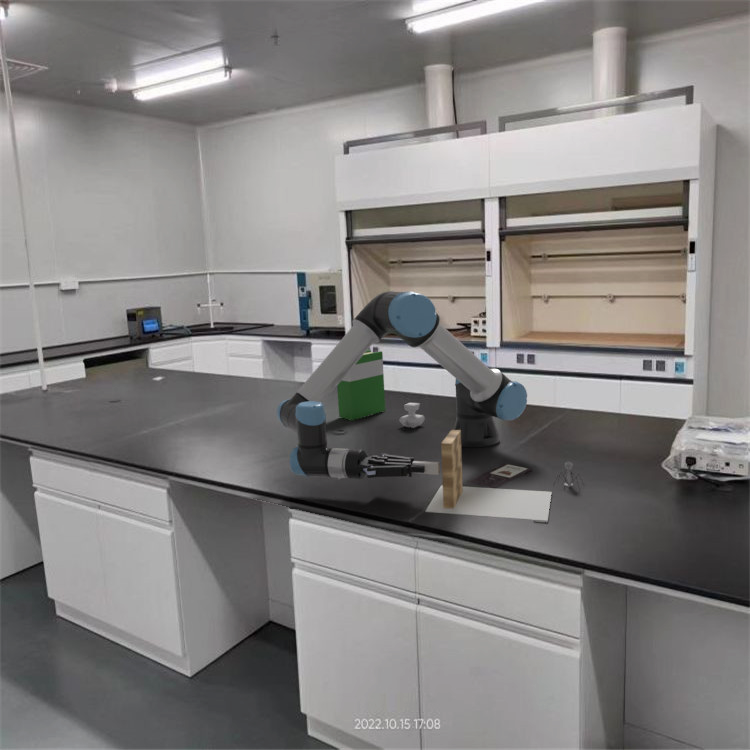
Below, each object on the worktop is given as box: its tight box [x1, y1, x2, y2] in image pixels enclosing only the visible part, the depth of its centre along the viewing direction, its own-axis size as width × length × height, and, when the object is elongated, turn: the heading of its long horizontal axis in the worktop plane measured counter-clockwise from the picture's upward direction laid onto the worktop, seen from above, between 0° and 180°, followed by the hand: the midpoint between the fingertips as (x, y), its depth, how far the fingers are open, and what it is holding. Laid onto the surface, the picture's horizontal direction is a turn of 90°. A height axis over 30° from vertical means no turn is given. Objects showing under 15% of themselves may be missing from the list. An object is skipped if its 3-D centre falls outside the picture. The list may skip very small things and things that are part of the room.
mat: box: [424, 484, 553, 523], centre depth 157 cm, size 18×28×1 cm, turn 72°
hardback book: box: [336, 349, 386, 421], centre depth 250 cm, size 18×7×24 cm, turn 134°
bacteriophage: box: [553, 461, 585, 491], centre depth 165 cm, size 7×8×7 cm
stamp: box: [399, 402, 426, 429], centre depth 230 cm, size 9×7×8 cm
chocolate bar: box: [466, 463, 533, 489], centre depth 175 cm, size 9×1×18 cm
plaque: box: [440, 429, 464, 509], centre depth 158 cm, size 12×2×16 cm, turn 162°
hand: (438, 468), depth 159 cm, fingers closed
